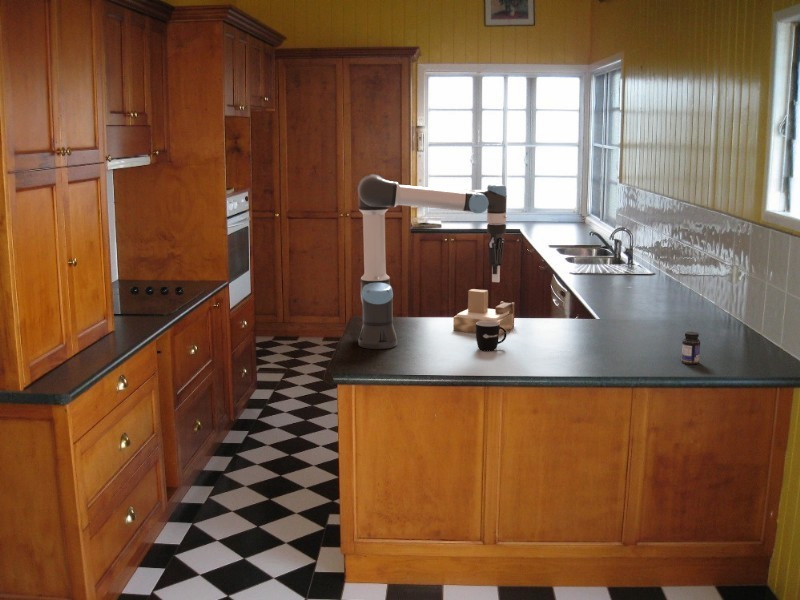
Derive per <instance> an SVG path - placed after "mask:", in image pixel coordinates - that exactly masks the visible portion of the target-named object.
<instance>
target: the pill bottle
mask: <svg viewBox="0 0 800 600" xmlns="http://www.w3.org/2000/svg"><path fill="white" fill-rule="evenodd" d="M699 336H700V333H699V332H697V331H692V330H691V331H690V330H689V331H685V332H684V337H685V338H683V339H682V341H681V342H682V345H681V362H682V364H684V365H685V364H686V365H698V364H699V363H700V355H701V351H700V350H701V340H700V339H699Z"/></svg>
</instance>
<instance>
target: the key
mask: <svg viewBox="0 0 800 600" xmlns="http://www.w3.org/2000/svg"><path fill="white" fill-rule="evenodd" d="M511 303H512V302H504V303H502V304H500V303H499V304H498V305H497V306H495V313H501V314H504V313H506V312H507V311H509V310H511Z"/></svg>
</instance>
